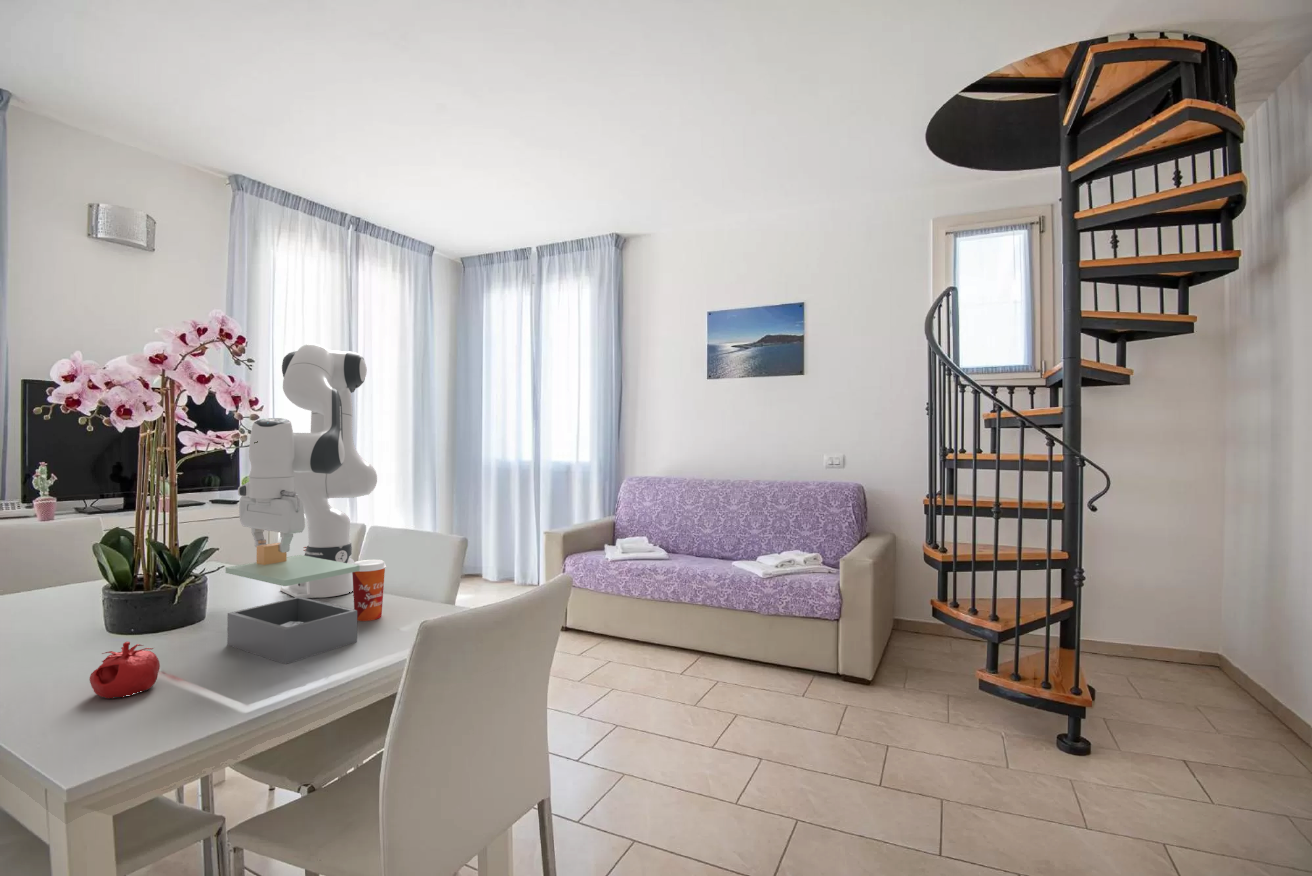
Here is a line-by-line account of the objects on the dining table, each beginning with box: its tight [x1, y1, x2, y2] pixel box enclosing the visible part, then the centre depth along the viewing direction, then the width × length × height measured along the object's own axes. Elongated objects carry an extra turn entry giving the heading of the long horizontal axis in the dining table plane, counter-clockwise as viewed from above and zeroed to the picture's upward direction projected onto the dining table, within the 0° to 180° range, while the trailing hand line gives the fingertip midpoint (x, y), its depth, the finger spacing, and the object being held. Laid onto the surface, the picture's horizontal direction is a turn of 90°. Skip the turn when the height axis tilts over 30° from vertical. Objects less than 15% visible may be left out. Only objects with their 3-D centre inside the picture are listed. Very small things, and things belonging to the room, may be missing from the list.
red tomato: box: [89, 641, 161, 699], centre depth 115 cm, size 10×10×9 cm
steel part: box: [280, 621, 306, 627], centre depth 142 cm, size 4×4×3 cm
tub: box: [226, 597, 358, 665], centre depth 138 cm, size 22×16×8 cm
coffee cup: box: [352, 559, 387, 622], centre depth 158 cm, size 8×8×15 cm
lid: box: [224, 542, 360, 587], centre depth 138 cm, size 23×17×5 cm
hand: (272, 549), depth 143 cm, fingers open, 8 cm apart
